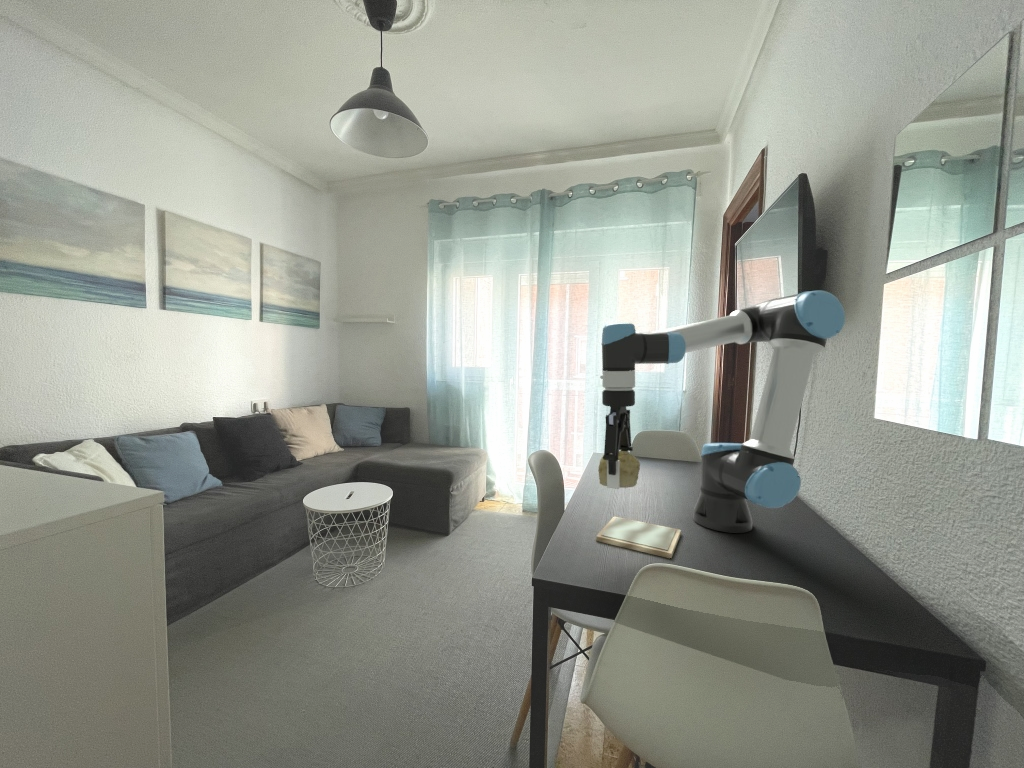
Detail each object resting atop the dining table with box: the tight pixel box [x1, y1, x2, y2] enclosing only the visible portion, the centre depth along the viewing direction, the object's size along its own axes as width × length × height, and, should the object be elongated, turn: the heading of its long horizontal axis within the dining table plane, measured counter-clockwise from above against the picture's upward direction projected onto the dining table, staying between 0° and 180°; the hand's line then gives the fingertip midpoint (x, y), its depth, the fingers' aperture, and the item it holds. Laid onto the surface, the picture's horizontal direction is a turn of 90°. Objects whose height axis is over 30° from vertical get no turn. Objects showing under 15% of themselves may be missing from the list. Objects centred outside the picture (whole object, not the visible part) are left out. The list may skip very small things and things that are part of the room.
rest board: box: [595, 516, 682, 559], centre depth 104 cm, size 18×16×1 cm
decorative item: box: [598, 450, 641, 489], centre depth 96 cm, size 10×10×10 cm
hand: (618, 482), depth 96 cm, fingers closed on decorative item, 9 cm apart
